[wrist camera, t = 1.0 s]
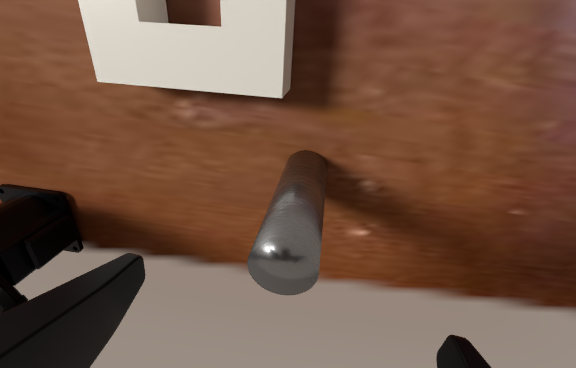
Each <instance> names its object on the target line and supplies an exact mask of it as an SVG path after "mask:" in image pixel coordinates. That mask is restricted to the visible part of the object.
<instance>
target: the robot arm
mask: <svg viewBox="0 0 576 368" xmlns="http://www.w3.org/2000/svg"><path fill="white" fill-rule="evenodd" d="M0 199H1V201H2V203H0V368H90V366H91V365H92V364H93V362H94V360H95V359H96V358H97V356H98V355H99V354H100V352H101V351H102V349H103V348H104V347H105V345H106V344H107V342H108V341H109V339H110V338H111V337H112V335H113V334H114V332H115V331H116V329H117V327H118V326H119V324H120V322H121V321H122V319H123V317H124V315H125V314H126V312H127V310H128V308H129V307H130V305H131V303H132V302H133V300H134V298H135V296H136V295H137V293H138V291H139V289H140V287H141V286H142V284H143V282H144V279H145V269H144V261H143V258H142V256H140V255H136V254H132V253H127V254H125V255H123V256H120V257H118V258H116V259H114V260H112V261H110V262H108V263H106V264H104V265H102V266H100V267H98V268H96V269H94V270H91V271H89V272H87V273H85V274H83V275H81V276H79V277H77V278H75V279H73V280H71V281H68V282H66V283H64V284H62V285H60V286H58V287H56V288H54V289H52V290H50V291H48V292H46V293H43V294H41V295H39V296H37V297H35V298H33V299H31V300H29V301H28V299H27V298H26V297H25V296H24V295H21V294H20V292H19V291H18V290H17V289H16V288H15V287H14V285H16V284H18V283H19V282H20V281H22V280H23V279H24V278H25V277H27V276H28V275H29V274H30V273H32V272H33V271H34V270H36V269H40V268H41V267H43V266H44V265H45V264H46V263H48V262H49V261H50V260H52V259H53V258H54V257H55V256H57V255H58V254H59V253H61V252H62V251H63V250H65V251H71V252H80V251H81V250H82V249H83V245H82V242H81V239H80V236H79V233H78V230H77V228H76V225H75V222H74V219H73V216H72V213H71V210H70V208H69V205H68V202H67V199H66V197H65V195H64V194H63V193H61V192H56V191H49V190H42V189H35V188H28V187H20V186H13V185H6V184H2V185H0ZM437 368H491V367H490V366H489V364H488V363H487V362H486V361H485V360H484V358H483V357H482V356H481V355H480V354H479V352H478V351H477V350H476V349H475V348H474V346H473V345H472V344H471V343H470V342H469V341H468V340H467V339H466V338H463V337H459V336H455V335H449V336H448V337H447V339H446V340H445V341H444V343H443V345H442V346H441V347H440V349H439V350H438V353H437Z"/></svg>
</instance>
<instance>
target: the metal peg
mask: <svg viewBox="0 0 576 368" xmlns="http://www.w3.org/2000/svg"><path fill="white" fill-rule="evenodd" d="M326 180H327V165H326V162H325V161H324V159H323V158H322V157H321V156H320V155H319V154H317V153H315V152H313V151H308V150H304V151H299V152H296V153H294V154H293V155H292V156H291V157H290V158H289V159H288V161H287V163H286V166H285V168H284V171H283V173H282V176H281V178H280V181H279V183H278V185H277V188H276V190H275V193H274V195H273V198H272V200H271V203H270V205H269V208H268V210H267V213H266V215H265V218H264V220H263V223H262V225H261V228H260V230H259V232H258V235H257V237H256V240H255V242H254V245H253V247H252V250H251V252H250V255H249V257H248V270H249V272H250V275H251V276H252V278H253V279H254V280H255V281H256V282H257V284H259V285H260V286H261V287H263V288H264V289H266V290H268V291H271V292H273V293H277V294H281V295H296V294H300V293H303V292H305V291H307V290H309V289H310V288H311V287H312V286H313V285H314V284H315V283H316V281H317V279H318V275H319V264H320V252H321V240H322V228H323V216H324V204H325V192H326Z"/></svg>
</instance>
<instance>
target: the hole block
mask: <svg viewBox="0 0 576 368" xmlns="http://www.w3.org/2000/svg"><path fill="white" fill-rule="evenodd" d="M78 2H79V6H80V10H81V14H82V19H83V23H84V27H85V31H86V35H87V39H88V44H89V48H90V52H91V56H92V60H93V64H94V69H95V73H96V77H97V81H98V82H107V83H118V84H129V85H140V86H151V87H162V88H173V89H184V90H195V91H206V92H218V93H229V94H240V95H251V96H262V97H273V98H283V97H284V95H285V94H286V93H287V92H288V91H289V90H290V84H291V66H292V49H293V32H294V14H295V0H220V3H221V25H222V27H218V26H202V25H186V24H171V23H168V15H167V6H166V0H78Z"/></svg>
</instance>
